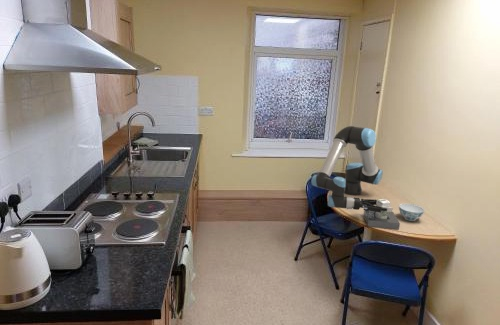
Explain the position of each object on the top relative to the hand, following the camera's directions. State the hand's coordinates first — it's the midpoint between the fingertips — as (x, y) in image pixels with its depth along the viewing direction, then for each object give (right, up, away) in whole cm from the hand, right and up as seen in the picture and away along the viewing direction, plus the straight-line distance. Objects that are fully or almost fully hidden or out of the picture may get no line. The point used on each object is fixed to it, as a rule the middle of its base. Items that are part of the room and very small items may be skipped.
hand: (390, 207), depth 214 cm
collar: (-5, -10, +3) cm, 12 cm away
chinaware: (+16, -9, +10) cm, 21 cm away
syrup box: (-5, -10, +3) cm, 12 cm away
